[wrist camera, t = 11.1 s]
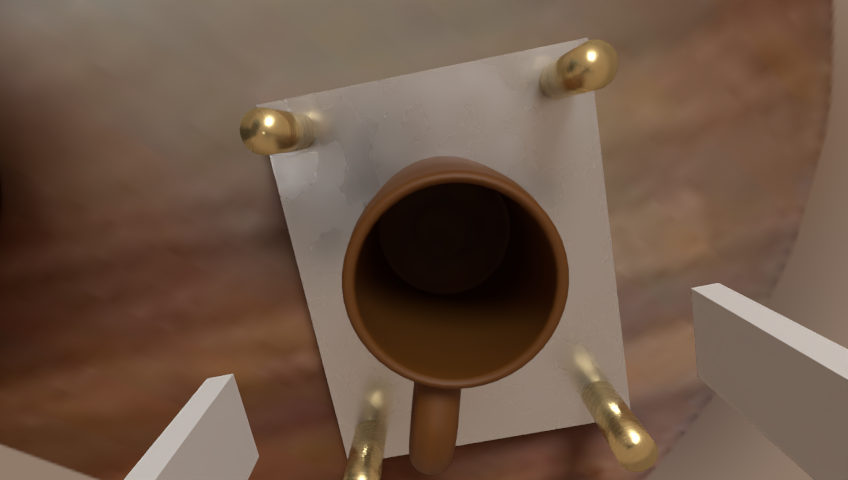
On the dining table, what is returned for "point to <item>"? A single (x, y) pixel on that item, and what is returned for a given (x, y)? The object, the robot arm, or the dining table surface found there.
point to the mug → (452, 288)
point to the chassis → (497, 149)
